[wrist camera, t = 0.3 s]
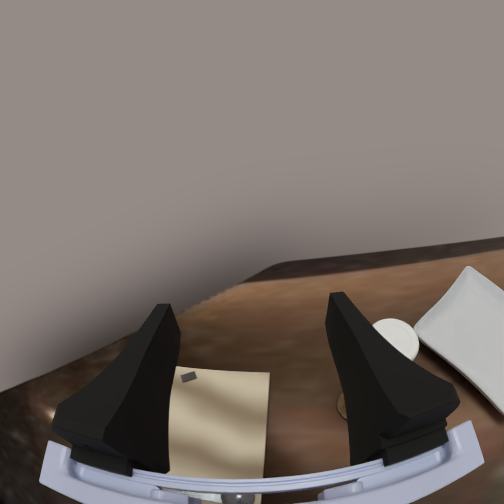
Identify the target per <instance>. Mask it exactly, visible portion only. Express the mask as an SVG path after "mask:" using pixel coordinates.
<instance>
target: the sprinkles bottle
mask: <svg viewBox="0 0 504 504" xmlns="http://www.w3.org/2000/svg"><path fill="white" fill-rule="evenodd" d="M372 326H373V327H374V328H375V329H376V330H377V331H378V332H379V333H380V334H381V335H382V336H383V337H384V338H385V339H386V340H387V341H388V342H389V343H390V344H392V345H393V346H394V347H395V348H396V349H397V350H398V351H400V352H401V353H402V354H403V355H405V356H406V357H407V358H409V359H410V360H412V361H413V360H414V358H415V357H416V355H417V353H418V350H419V340H418V336H417V334H416V333H415V331H414V330H413V329H412V327H410V326H409V325H408V324H407V323H405V322H403V321H400V320H397V319H383V320H380V321H378V322H376V323H375V324H374V325H372ZM337 408H338V411H339V413H340V414H341V415H342V416H343V417H344V418H345V419H347V415H346V408H345V401H344V395H343V393H341V395H340V397H339V399H338V402H337Z"/></svg>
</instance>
